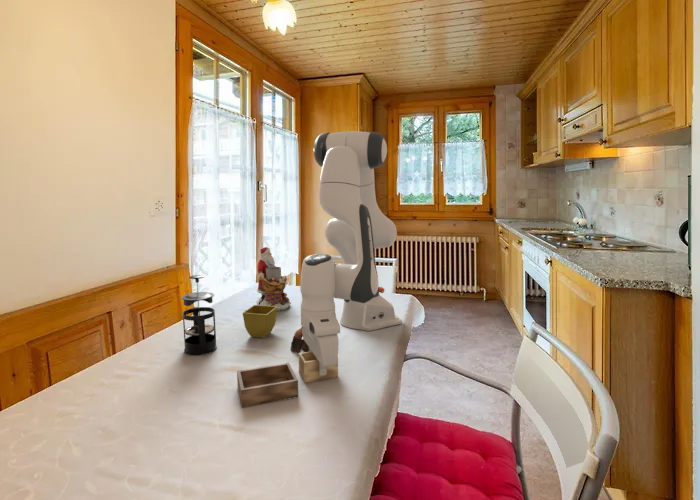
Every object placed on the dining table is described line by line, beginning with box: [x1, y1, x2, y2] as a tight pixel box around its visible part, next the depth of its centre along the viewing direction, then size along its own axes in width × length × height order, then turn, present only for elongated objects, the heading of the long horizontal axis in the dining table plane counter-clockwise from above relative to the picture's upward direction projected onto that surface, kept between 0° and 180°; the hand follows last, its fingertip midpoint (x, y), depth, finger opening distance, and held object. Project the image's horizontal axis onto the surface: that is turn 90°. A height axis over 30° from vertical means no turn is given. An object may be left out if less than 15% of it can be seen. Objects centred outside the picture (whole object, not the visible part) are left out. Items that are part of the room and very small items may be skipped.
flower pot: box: [242, 304, 278, 339], centre depth 128 cm, size 9×9×9 cm
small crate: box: [298, 351, 339, 384], centre depth 100 cm, size 9×6×6 cm, turn 111°
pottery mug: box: [289, 325, 310, 355], centre depth 116 cm, size 12×10×8 cm
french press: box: [181, 274, 218, 357], centre depth 115 cm, size 12×9×23 cm
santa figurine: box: [256, 246, 292, 312], centre depth 160 cm, size 17×14×25 cm
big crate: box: [236, 362, 299, 409], centre depth 92 cm, size 13×10×4 cm
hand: (318, 368), depth 100 cm, fingers closed on small crate, 6 cm apart
